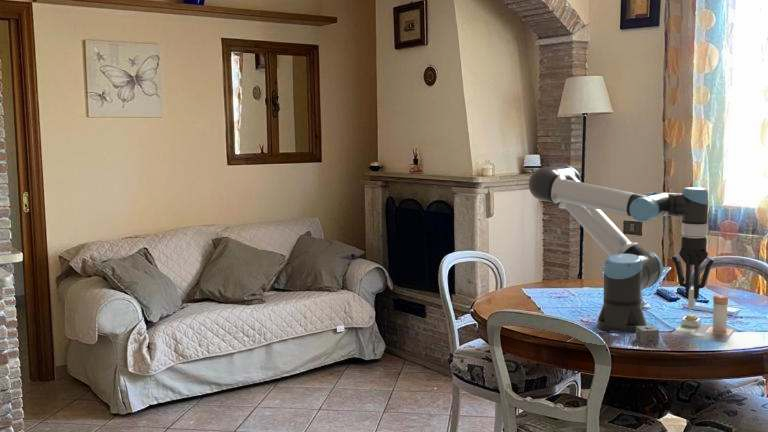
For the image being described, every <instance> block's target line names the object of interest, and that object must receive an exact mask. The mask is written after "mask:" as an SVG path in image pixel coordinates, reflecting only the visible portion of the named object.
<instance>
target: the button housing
mask: <svg viewBox="0 0 768 432" xmlns="http://www.w3.org/2000/svg"><path fill="white" fill-rule="evenodd" d="M686 317H687V315H685V316H683V318H681V320H680V321H681V322H680V323H681V324H680V325H681V326H684V327H691V328H698V327H699V326H700V324H701V317H696V321H693V320H686Z"/></svg>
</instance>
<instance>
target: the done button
mask: <svg viewBox="0 0 768 432" xmlns="http://www.w3.org/2000/svg"><path fill="white" fill-rule="evenodd" d="M686 316H687V317H686V320H693V321H696V318H697V315H695V314H687V315H686Z"/></svg>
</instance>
